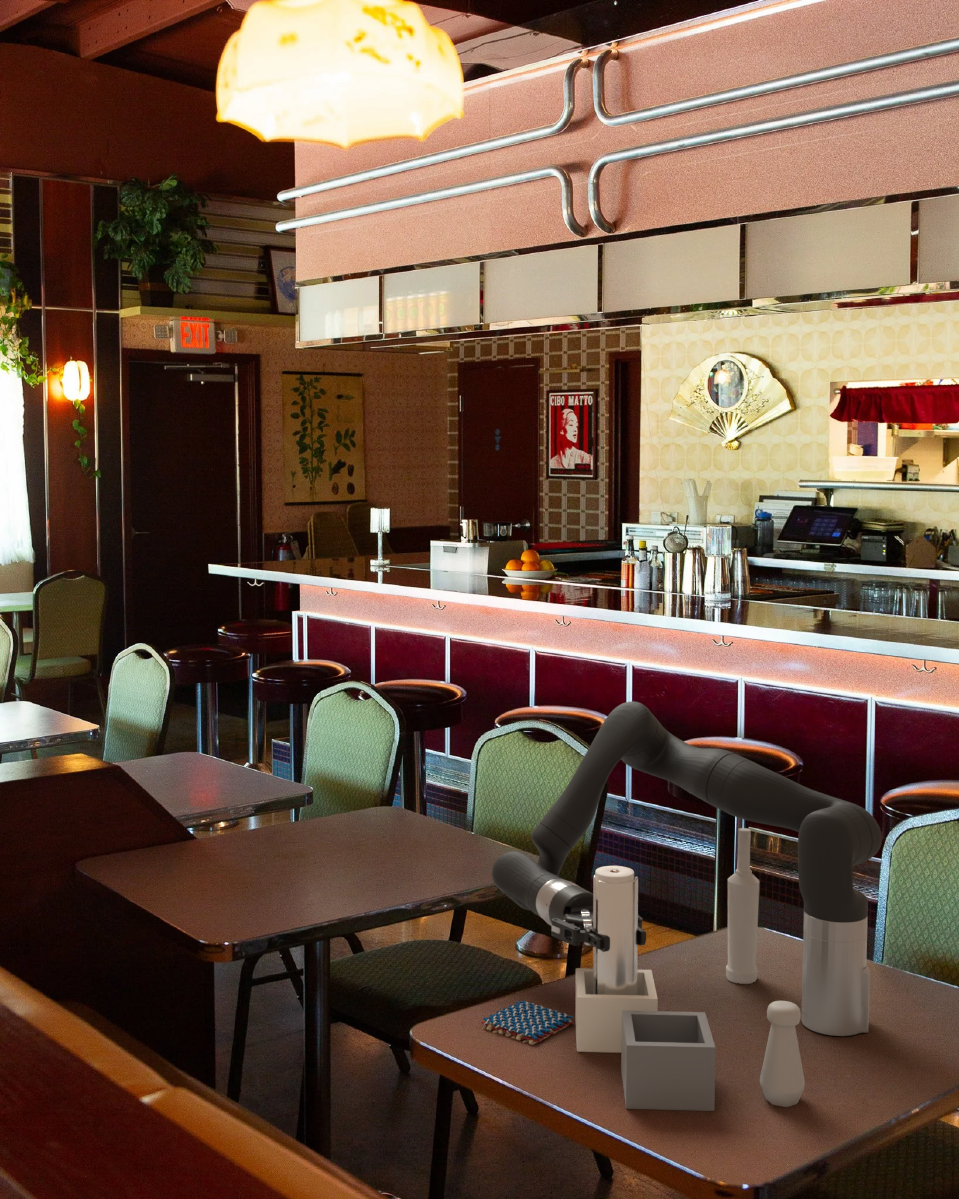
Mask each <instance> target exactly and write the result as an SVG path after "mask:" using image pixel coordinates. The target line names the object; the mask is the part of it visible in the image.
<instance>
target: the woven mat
mask: <svg viewBox="0 0 959 1199" xmlns="http://www.w3.org/2000/svg"><path fill="white" fill-rule="evenodd" d="M573 1018H574V1016H572V1015H568V1014H566V1012H558V1010H556V1009H551V1008H548V1007H544V1006H543V1005H538V1004H535V1003H534V1002H533V1003H532V1002H531V1003H530V1002H528V1001H525V1000H521V1001H516V1002H515V1004H513V1005H512V1004H510V1005H509V1007H504V1008H502V1010H500V1011H499V1010H498V1011H496V1013H493V1014H492V1013H491V1014H490V1015H489V1016H488V1017H486V1016H484V1017H483V1020H482V1021H481V1025H484V1026H482V1027H481V1030H484V1029H486V1030H487V1031H492V1033H493V1034H496V1033H498V1034H499V1035H504V1034H505V1036H506V1037H511V1038H512V1039H515V1040H517V1041H522V1040H523V1041H522V1043H523V1044H525V1043H528V1044H529V1045H531V1046H533V1045H535V1044H537V1043H541V1042H542V1041H543V1040H545V1039H546V1038H549V1037H551V1036H553V1035H554V1034H556V1033H558V1032H560V1031H562V1030H563V1029H565V1028H567V1027H568V1026H569V1027H570V1026H573V1024H574V1021H573Z"/></svg>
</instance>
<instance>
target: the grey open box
mask: <svg viewBox="0 0 959 1199" xmlns="http://www.w3.org/2000/svg"><path fill="white" fill-rule="evenodd" d="M620 1054H621V1056H620V1057H621V1058H620V1059H621V1060H620V1061H621V1062H620V1063H621V1064H620V1072H621V1078H622V1087H623V1096H624V1104H625V1109H626V1110H627V1109H629V1110H633V1109H634V1110H663V1111H664V1110H665V1111H667V1110H668V1111H699V1112H700V1111H702V1112H703V1111H705V1112H715V1108H716V1106H715V1102H716V1101H715V1100H716V1096H715V1094H716V1093H715V1092H716V1044H715V1040H714V1039H713V1034H712V1032H711V1028H710V1025H709V1021H708V1017H707V1014H706V1012H705V1011H667V1010H666V1011H664V1010H663V1011H661V1010H658V1011H626V1010H622V1040H621V1053H620Z"/></svg>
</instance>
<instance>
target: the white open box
mask: <svg viewBox="0 0 959 1199" xmlns="http://www.w3.org/2000/svg"><path fill="white" fill-rule="evenodd" d="M655 984H656V983H655V981H654V976H653V971H652V969H637V995H595V994H593V968H588V967H587V968H583V967H577V968H575V1010H574V1011H575V1014H574V1016H575V1019H574V1020H575V1037H576V1038H575V1039H576V1041H575V1042H576V1052H577V1053H581V1052H584V1053H620V1054H621V1040H622V1010H626V1011H659V1010H658V1006H659V1003H658V1002H659V999H658V994H657V989H656V985H655Z"/></svg>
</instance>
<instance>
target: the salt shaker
mask: <svg viewBox="0 0 959 1199" xmlns="http://www.w3.org/2000/svg"><path fill="white" fill-rule="evenodd" d="M801 1016H802V1011H801V1008H800V1007H799V1006H798V1005H797V1004H796V1003H794V1002H792V1001H788V1000H775V1001H771V1003H769V1005H768V1006H767V1009H766V1018H767V1020H768V1021H769V1023H770V1028H769V1029H770V1030H769V1033H768V1039H767V1043H766V1048H765V1053H764V1057H763V1062H762V1067H761V1071H760V1077H759V1085H760V1088H761V1090H762V1093H763V1096H764V1098H765V1100H766V1101H768V1102H769V1103H770V1104H771V1105H773V1106H776V1107H778V1106H779V1107H785V1108H788V1107H792V1106H795V1105H798V1104H799V1100H800V1099H801V1097H802V1095H803V1092H804V1090H805V1087H806V1086H805V1085H806V1081H805V1075H804V1070H803V1069H804V1068H803V1065H802V1057H801V1053H800V1048H799V1047H800V1046H799V1040H798V1036H797V1035H798V1034H797V1030H796V1029H797V1028H796V1026H797V1025H799V1024H800V1021H801Z"/></svg>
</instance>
